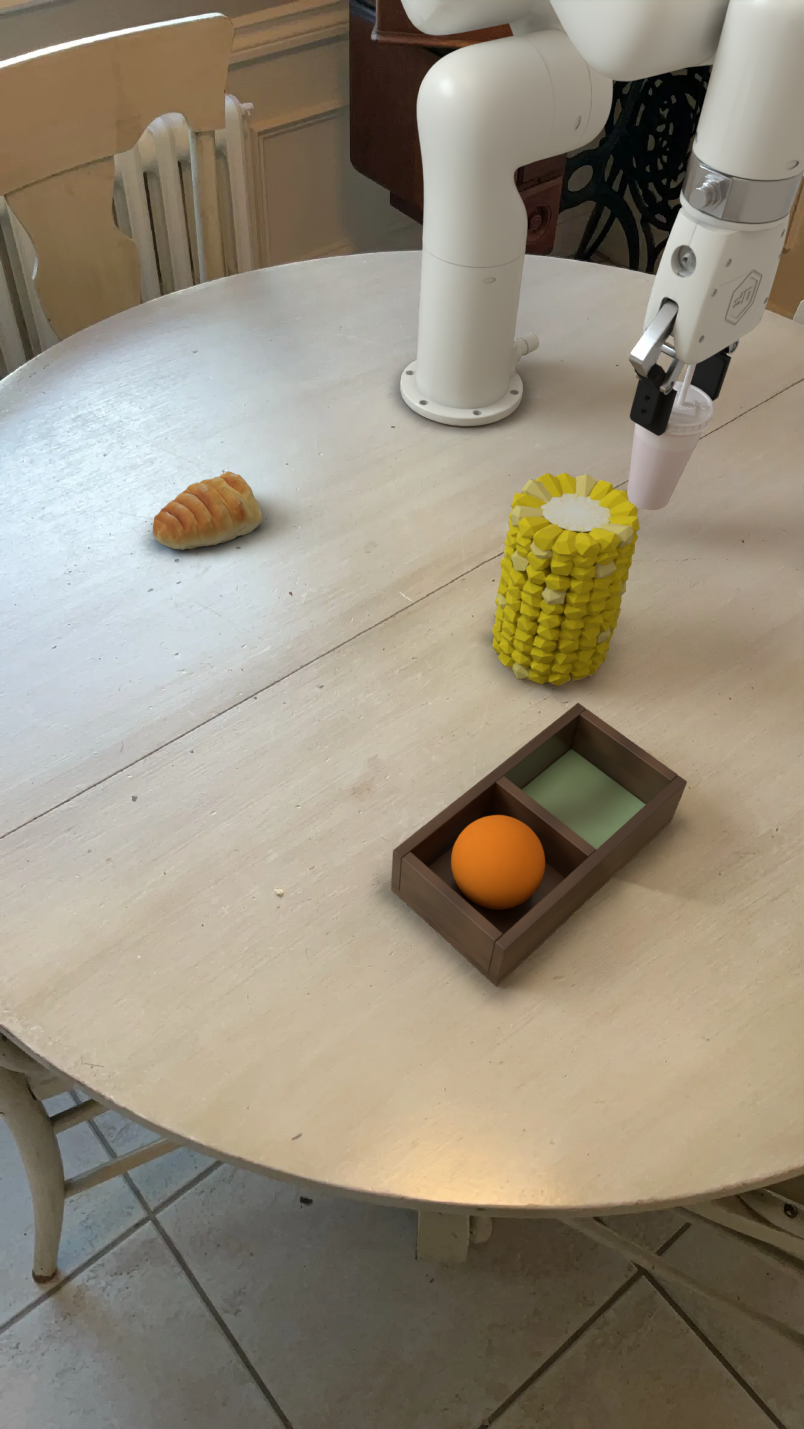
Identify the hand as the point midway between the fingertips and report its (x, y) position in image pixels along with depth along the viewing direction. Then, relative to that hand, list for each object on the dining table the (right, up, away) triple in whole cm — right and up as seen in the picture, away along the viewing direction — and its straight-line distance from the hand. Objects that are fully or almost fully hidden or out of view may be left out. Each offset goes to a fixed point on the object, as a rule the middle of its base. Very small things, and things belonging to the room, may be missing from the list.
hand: (674, 407), depth 85 cm
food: (-10, -19, 0) cm, 22 cm away
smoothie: (0, -6, +7) cm, 9 cm away
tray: (-13, -35, -13) cm, 39 cm away
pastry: (-39, -8, +8) cm, 41 cm away
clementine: (-16, -34, -18) cm, 42 cm away
